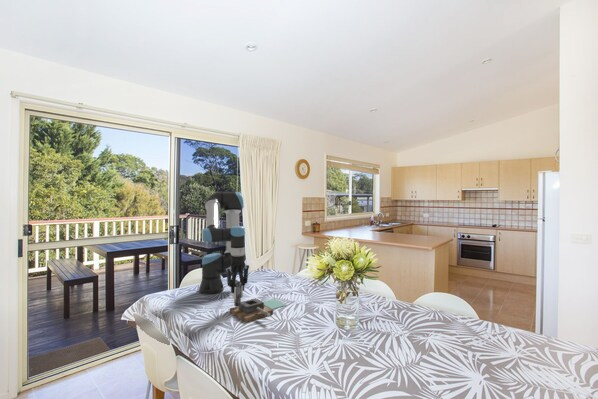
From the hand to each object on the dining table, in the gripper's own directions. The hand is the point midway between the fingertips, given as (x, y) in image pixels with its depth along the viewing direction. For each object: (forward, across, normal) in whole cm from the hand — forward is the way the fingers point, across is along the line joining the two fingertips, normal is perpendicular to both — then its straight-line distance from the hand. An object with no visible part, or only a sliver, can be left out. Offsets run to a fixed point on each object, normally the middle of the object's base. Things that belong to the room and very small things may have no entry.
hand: (237, 297), depth 161 cm
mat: (+5, +18, -8) cm, 20 cm away
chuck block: (+5, +2, -16) cm, 16 cm away
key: (+4, 0, 0) cm, 4 cm away
